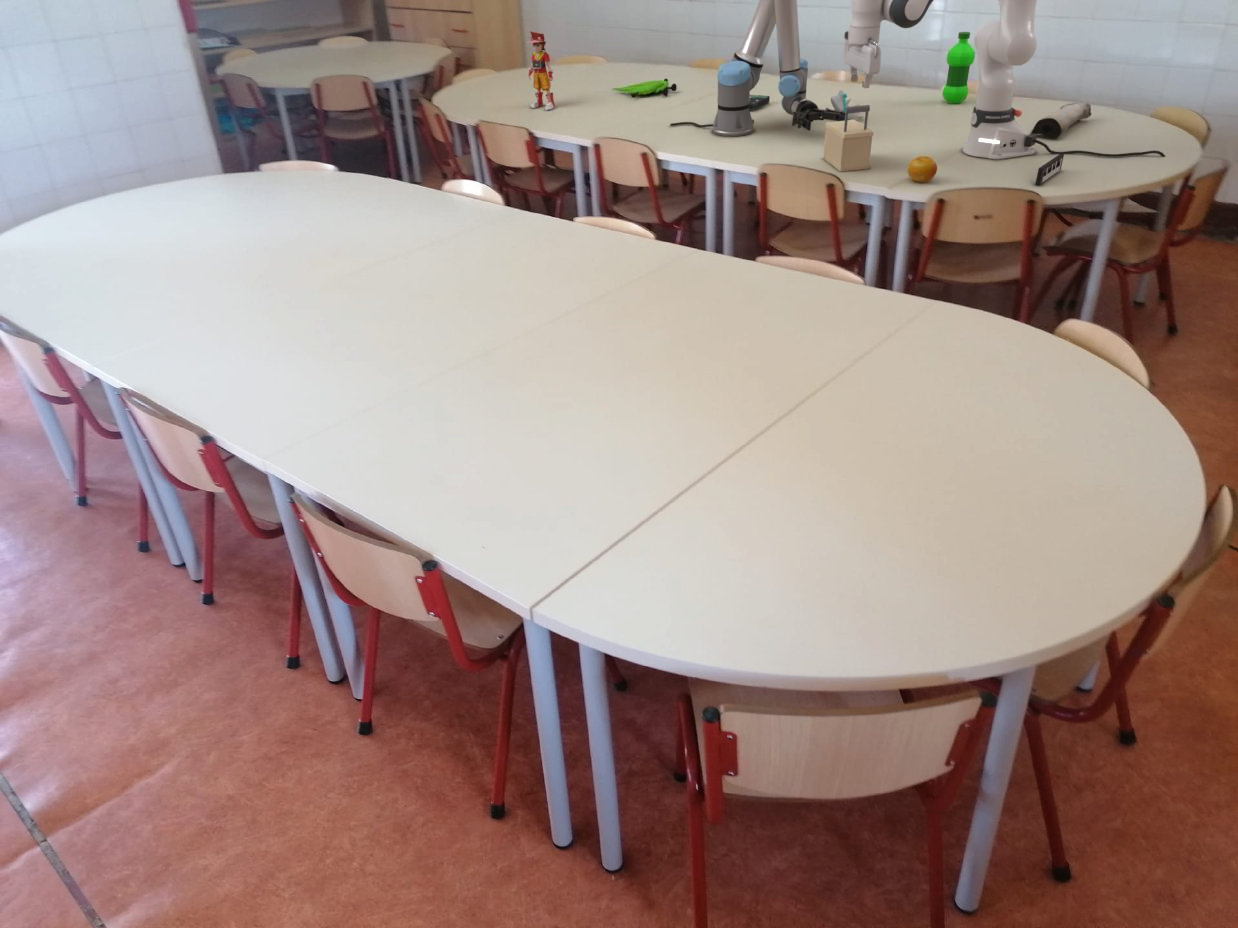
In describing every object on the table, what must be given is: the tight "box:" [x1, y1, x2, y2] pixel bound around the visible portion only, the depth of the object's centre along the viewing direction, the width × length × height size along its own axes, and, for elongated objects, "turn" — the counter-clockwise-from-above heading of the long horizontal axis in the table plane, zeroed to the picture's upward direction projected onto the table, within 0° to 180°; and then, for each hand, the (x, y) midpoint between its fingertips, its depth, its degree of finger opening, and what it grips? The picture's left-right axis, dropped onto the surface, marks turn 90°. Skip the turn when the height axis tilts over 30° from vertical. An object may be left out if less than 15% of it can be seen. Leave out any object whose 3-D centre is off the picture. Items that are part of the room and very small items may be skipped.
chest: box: [823, 126, 873, 172], centre depth 294 cm, size 15×10×10 cm, turn 10°
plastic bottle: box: [942, 31, 976, 104], centre depth 348 cm, size 10×10×25 cm
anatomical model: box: [830, 89, 865, 120], centre depth 343 cm, size 15×10×10 cm
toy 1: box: [527, 31, 556, 111], centre depth 374 cm, size 12×9×30 cm
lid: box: [825, 104, 874, 139], centre depth 289 cm, size 16×10×9 cm, turn 10°
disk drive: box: [749, 94, 771, 111], centre depth 365 cm, size 10×3×15 cm
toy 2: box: [612, 78, 677, 99], centre depth 396 cm, size 28×5×30 cm
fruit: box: [907, 155, 938, 183], centre depth 277 cm, size 8×8×8 cm
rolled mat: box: [1029, 101, 1092, 140], centre depth 316 cm, size 30×9×10 cm
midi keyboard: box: [1035, 154, 1065, 186], centre depth 273 cm, size 18×1×5 cm, turn 138°
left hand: (828, 124), depth 312 cm, fingers open, 13 cm apart
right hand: (859, 84), depth 279 cm, fingers open, 8 cm apart
